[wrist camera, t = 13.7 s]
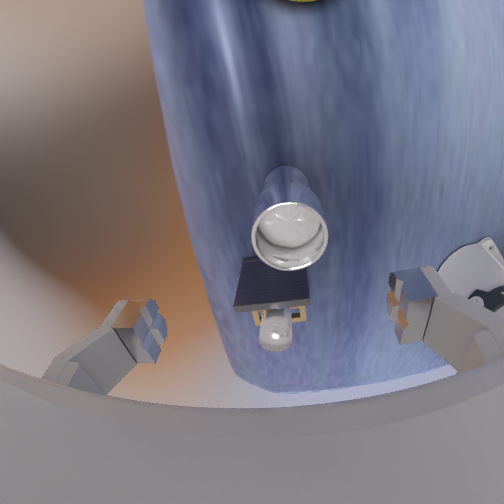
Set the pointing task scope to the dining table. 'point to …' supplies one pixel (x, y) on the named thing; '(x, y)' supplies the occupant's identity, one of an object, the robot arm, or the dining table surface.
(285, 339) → the metal cylinder
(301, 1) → the bowl
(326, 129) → the dining table surface
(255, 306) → the stand
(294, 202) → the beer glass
